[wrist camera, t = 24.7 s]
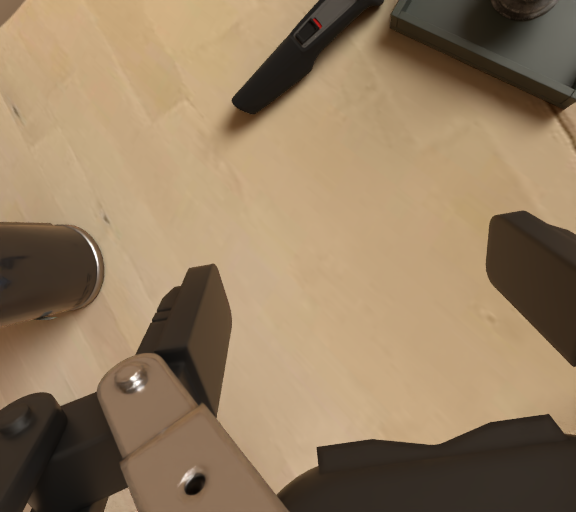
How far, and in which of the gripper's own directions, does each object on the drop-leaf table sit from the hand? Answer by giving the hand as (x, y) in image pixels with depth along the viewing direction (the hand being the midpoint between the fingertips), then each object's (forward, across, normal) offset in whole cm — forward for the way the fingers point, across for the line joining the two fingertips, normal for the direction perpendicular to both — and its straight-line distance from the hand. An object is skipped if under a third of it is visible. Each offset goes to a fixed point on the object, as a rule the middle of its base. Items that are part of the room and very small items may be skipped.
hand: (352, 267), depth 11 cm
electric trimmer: (+28, -2, -6) cm, 29 cm away
